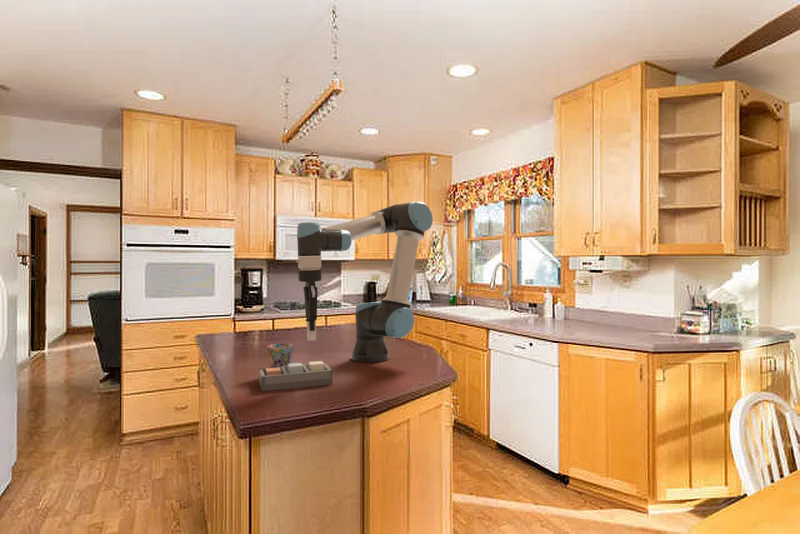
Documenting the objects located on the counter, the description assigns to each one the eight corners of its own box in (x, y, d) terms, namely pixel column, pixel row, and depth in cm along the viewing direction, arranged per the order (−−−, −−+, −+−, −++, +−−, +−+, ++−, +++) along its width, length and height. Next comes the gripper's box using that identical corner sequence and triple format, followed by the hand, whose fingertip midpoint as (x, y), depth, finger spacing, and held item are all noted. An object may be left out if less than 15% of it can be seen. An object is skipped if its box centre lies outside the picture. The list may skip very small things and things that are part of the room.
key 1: (279, 374, 151) (279, 367, 151) (281, 377, 147) (281, 370, 147) (265, 375, 149) (265, 368, 149) (266, 379, 145) (266, 371, 145)
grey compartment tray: (324, 375, 160) (324, 362, 160) (332, 384, 149) (332, 370, 149) (259, 381, 152) (258, 368, 152) (262, 391, 141) (261, 376, 141)
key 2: (321, 368, 156) (321, 361, 156) (324, 370, 152) (324, 363, 152) (308, 369, 154) (308, 362, 154) (311, 372, 150) (311, 364, 150)
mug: (296, 377, 157) (295, 347, 157) (268, 380, 154) (267, 349, 154) (291, 370, 168) (291, 341, 168) (265, 372, 165) (264, 343, 165)
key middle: (300, 369, 153) (300, 362, 153) (303, 372, 149) (303, 365, 149) (287, 371, 152) (287, 363, 152) (289, 374, 148) (289, 366, 148)
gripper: (295, 269, 157) (297, 337, 157) (301, 270, 144) (303, 344, 145) (317, 268, 159) (319, 336, 160) (324, 269, 147) (326, 342, 148)
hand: (311, 340), depth 153 cm, fingers closed
